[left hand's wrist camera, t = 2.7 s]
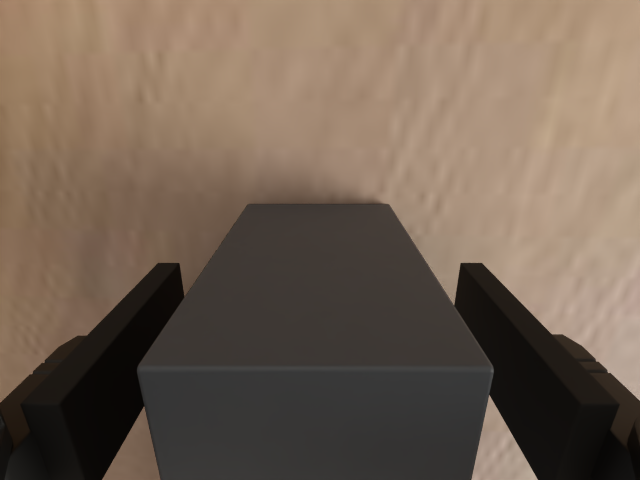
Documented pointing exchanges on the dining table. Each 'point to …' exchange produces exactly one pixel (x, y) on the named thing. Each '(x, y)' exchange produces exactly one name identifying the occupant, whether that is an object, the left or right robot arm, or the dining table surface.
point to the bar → (316, 357)
